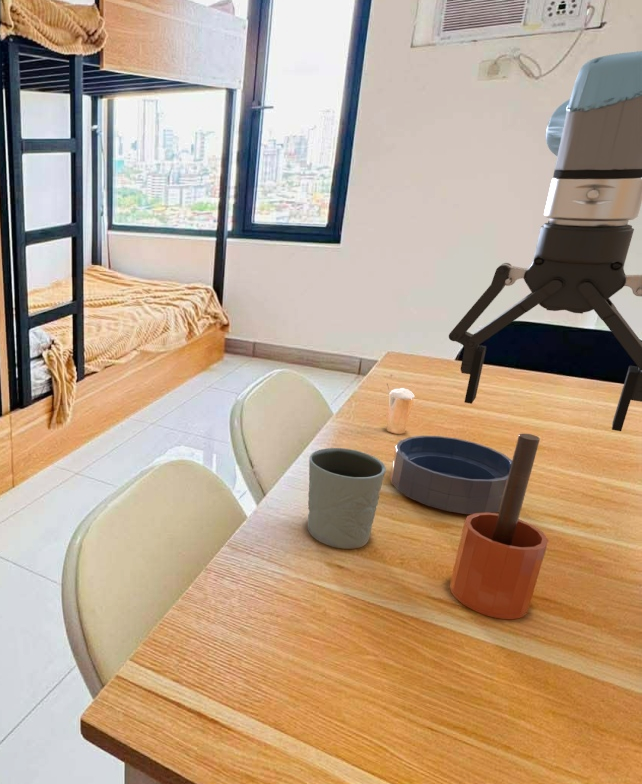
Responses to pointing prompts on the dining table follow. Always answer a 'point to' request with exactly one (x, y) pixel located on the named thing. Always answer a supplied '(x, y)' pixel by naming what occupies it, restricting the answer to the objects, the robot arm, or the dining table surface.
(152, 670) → the dining table surface
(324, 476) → the grey cup
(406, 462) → the bowl
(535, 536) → the pot
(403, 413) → the milkshake
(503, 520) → the stirring stick
